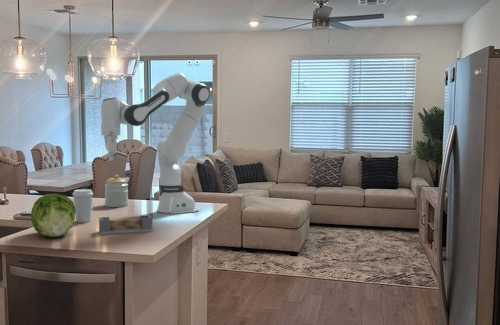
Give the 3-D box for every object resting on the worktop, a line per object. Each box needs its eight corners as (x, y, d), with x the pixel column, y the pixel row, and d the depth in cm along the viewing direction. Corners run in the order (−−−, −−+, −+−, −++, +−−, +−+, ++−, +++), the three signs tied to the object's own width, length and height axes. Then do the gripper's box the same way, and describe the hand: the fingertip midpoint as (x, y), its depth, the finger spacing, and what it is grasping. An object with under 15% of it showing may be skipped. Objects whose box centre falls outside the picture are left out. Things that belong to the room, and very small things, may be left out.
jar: (133, 205, 289) (133, 174, 287) (116, 208, 278) (115, 176, 276) (117, 202, 296) (117, 172, 294) (99, 205, 285) (99, 174, 283)
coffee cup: (74, 224, 235) (73, 192, 234) (71, 220, 244) (70, 189, 243) (95, 222, 240) (95, 191, 239) (91, 218, 248) (91, 188, 247)
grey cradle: (149, 227, 229) (149, 214, 229) (152, 231, 223) (152, 217, 222) (99, 230, 222) (99, 217, 221) (100, 234, 215) (99, 220, 215)
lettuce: (28, 224, 195) (69, 195, 201) (16, 205, 213) (55, 179, 219) (54, 256, 204) (93, 227, 210) (41, 235, 222) (77, 209, 229)
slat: (145, 226, 227) (145, 218, 226) (146, 228, 224) (146, 219, 223) (103, 229, 221) (103, 220, 220) (104, 230, 218) (104, 221, 217)
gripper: (119, 132, 232) (119, 162, 233) (115, 131, 251) (116, 158, 252) (105, 132, 230) (105, 162, 231) (102, 131, 249) (102, 159, 250)
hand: (111, 160), depth 242 cm, fingers closed
